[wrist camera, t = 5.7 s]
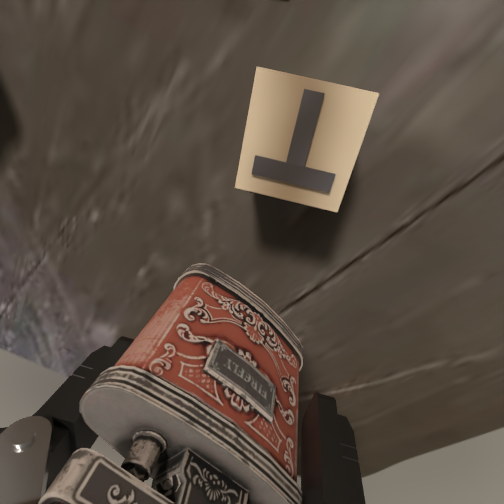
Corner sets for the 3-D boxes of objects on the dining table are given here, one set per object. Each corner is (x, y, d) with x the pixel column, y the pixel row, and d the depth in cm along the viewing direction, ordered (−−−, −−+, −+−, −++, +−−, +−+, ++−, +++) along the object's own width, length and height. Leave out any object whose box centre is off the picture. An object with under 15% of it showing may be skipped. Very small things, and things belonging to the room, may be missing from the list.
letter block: (356, 103, 19) (380, 92, 13) (326, 193, 21) (336, 216, 16) (268, 83, 19) (256, 65, 14) (250, 175, 22) (233, 191, 16)
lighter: (317, 348, 15) (337, 670, 6) (274, 376, 17) (239, 674, 8) (204, 249, 14) (23, 477, 5) (167, 288, 15) (-28, 523, 6)
